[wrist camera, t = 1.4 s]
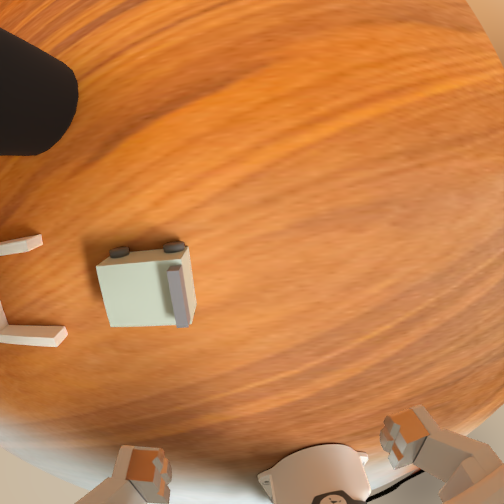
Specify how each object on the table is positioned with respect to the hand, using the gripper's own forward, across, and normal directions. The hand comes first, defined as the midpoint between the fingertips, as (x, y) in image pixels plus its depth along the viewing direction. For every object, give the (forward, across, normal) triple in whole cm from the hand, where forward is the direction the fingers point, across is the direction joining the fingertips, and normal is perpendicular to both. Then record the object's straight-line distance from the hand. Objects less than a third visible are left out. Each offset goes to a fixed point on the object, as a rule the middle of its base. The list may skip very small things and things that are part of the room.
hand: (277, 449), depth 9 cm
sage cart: (+21, +9, +1) cm, 23 cm away
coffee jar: (+22, +20, -19) cm, 36 cm away
